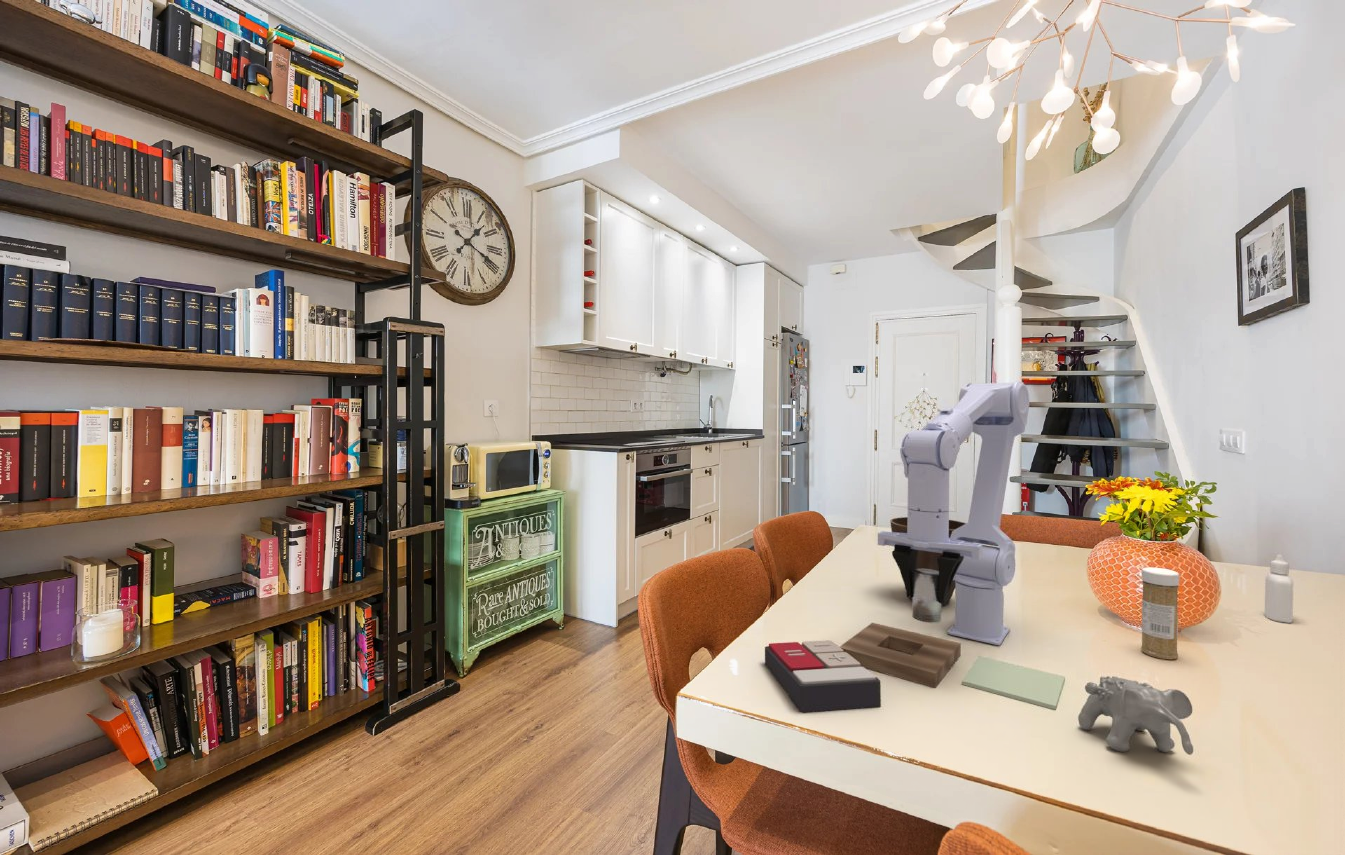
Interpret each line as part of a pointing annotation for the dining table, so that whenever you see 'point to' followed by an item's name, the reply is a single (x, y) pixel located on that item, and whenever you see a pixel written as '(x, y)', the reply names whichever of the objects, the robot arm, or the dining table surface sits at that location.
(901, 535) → the robot arm
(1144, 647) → the spice jar
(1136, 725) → the elephant statuette
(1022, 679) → the sage pad
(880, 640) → the walnut holder
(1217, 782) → the dining table surface
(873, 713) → the dining table surface
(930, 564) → the plant pot
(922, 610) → the metal peg
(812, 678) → the calculator
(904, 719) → the dining table surface
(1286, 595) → the eye dropper bottle
